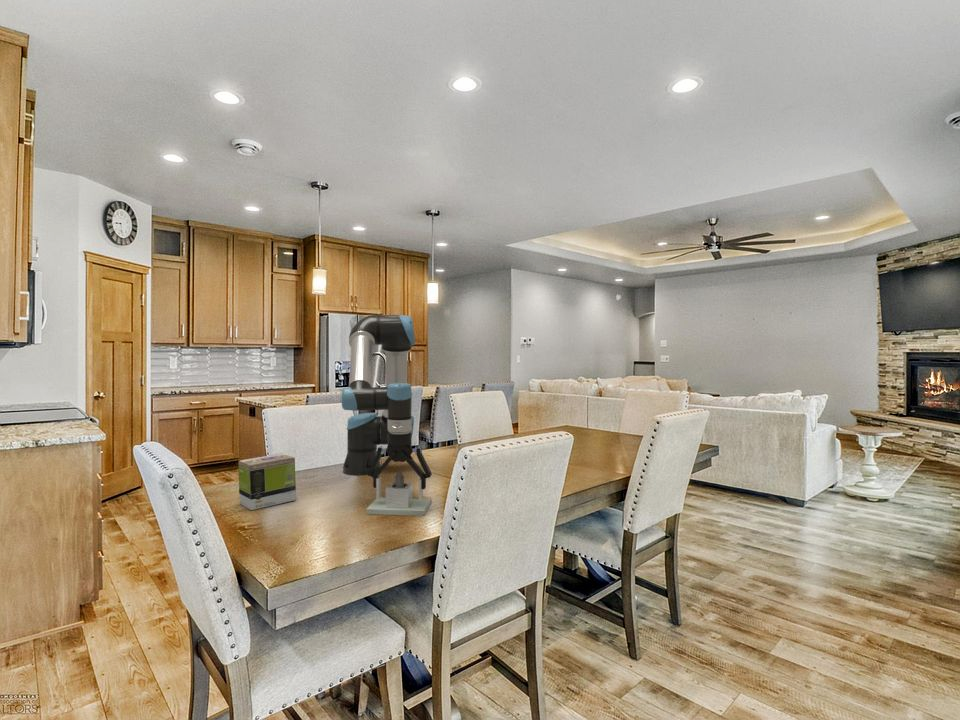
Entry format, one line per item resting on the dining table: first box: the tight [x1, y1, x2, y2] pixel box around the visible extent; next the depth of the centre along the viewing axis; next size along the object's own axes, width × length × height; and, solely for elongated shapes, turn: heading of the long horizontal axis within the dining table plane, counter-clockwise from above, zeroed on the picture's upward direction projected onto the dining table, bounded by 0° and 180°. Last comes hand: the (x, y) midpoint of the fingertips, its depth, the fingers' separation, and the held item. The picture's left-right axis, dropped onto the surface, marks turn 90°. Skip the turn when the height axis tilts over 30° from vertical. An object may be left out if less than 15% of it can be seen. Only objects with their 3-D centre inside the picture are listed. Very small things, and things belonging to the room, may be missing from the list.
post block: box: [365, 471, 432, 517], centre depth 165 cm, size 12×18×12 cm, turn 85°
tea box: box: [238, 452, 297, 511], centre depth 171 cm, size 15×10×15 cm
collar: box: [385, 481, 414, 508], centre depth 165 cm, size 7×7×6 cm
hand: (399, 498), depth 165 cm, fingers open, 13 cm apart
